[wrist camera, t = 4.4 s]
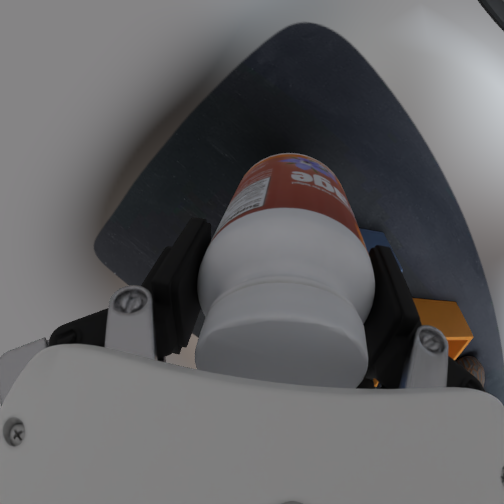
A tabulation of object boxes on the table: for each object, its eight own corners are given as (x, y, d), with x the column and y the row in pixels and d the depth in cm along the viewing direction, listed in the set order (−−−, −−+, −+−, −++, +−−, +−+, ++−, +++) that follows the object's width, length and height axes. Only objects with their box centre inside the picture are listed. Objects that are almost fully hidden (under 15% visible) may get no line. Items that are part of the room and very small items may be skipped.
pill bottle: (363, 210, 16) (426, 378, 7) (284, 264, 18) (269, 431, 9) (296, 126, 14) (307, 232, 4) (215, 196, 16) (129, 352, 7)
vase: (442, 364, 38) (455, 405, 30) (474, 345, 35) (491, 385, 27) (449, 377, 40) (460, 415, 33) (478, 360, 37) (492, 396, 30)
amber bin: (395, 296, 31) (410, 336, 25) (455, 301, 30) (473, 336, 25) (367, 349, 36) (374, 386, 31) (423, 350, 36) (434, 384, 30)
